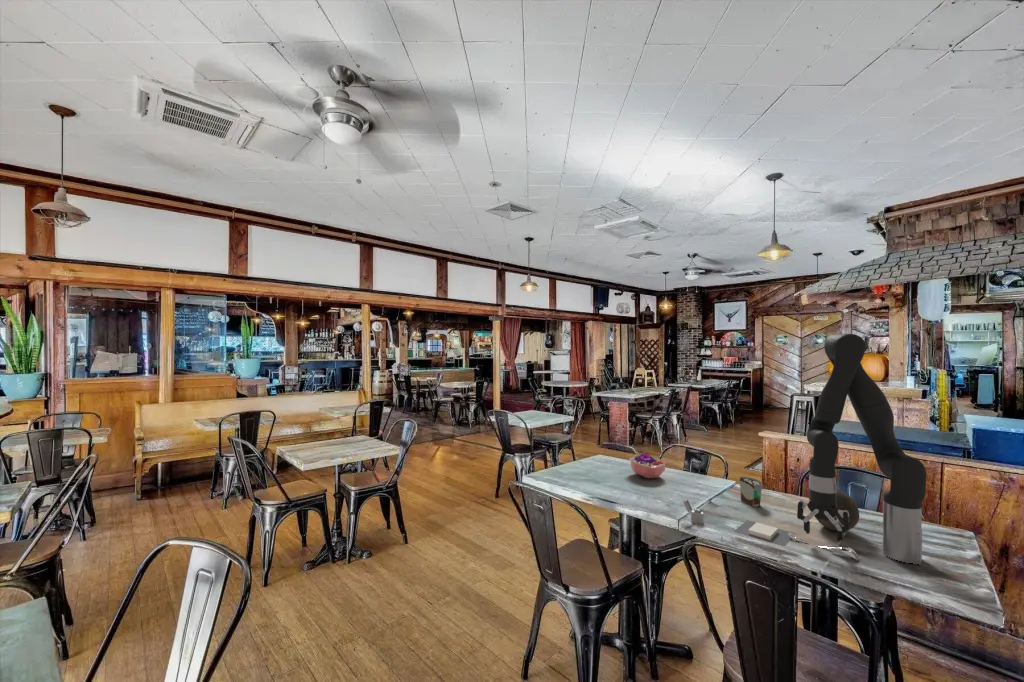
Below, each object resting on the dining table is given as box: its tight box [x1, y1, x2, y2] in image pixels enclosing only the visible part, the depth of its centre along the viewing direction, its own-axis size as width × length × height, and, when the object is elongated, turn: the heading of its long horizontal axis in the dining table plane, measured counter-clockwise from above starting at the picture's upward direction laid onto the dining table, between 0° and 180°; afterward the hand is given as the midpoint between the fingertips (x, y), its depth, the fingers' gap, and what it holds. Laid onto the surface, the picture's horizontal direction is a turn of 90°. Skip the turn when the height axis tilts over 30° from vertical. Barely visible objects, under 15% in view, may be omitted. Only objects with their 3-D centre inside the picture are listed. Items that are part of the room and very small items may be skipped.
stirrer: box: [788, 532, 860, 561], centre depth 145 cm, size 20×4×5 cm
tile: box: [748, 522, 779, 540], centre depth 155 cm, size 7×2×9 cm
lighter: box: [682, 499, 705, 525], centre depth 166 cm, size 7×2×8 cm, turn 53°
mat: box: [734, 519, 796, 547], centre depth 157 cm, size 16×14×1 cm
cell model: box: [629, 452, 666, 479], centre depth 221 cm, size 17×20×11 cm
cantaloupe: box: [814, 489, 860, 532], centre depth 159 cm, size 14×14×15 cm
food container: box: [738, 476, 764, 508], centre depth 185 cm, size 12×6×10 cm, turn 0°
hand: (823, 536), depth 145 cm, fingers open, 8 cm apart
